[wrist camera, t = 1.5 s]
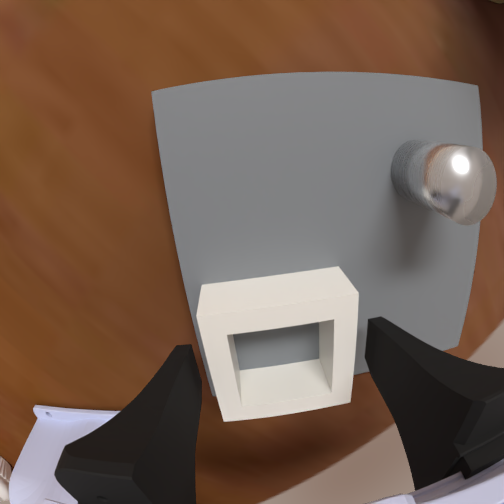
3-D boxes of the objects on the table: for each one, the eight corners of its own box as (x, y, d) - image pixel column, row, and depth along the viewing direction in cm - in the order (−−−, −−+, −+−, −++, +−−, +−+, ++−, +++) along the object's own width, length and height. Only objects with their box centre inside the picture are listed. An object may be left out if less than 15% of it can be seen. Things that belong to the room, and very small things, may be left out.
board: (213, 380, 16) (212, 396, 15) (158, 94, 11) (151, 91, 10) (447, 334, 16) (457, 345, 15) (463, 87, 12) (477, 85, 10)
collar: (224, 385, 15) (223, 421, 13) (201, 284, 13) (196, 316, 11) (336, 369, 15) (350, 402, 13) (338, 266, 13) (358, 293, 11)
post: (391, 203, 12) (440, 229, 9) (389, 139, 11) (441, 145, 8) (440, 199, 12) (494, 222, 9) (440, 140, 11) (497, 148, 8)
